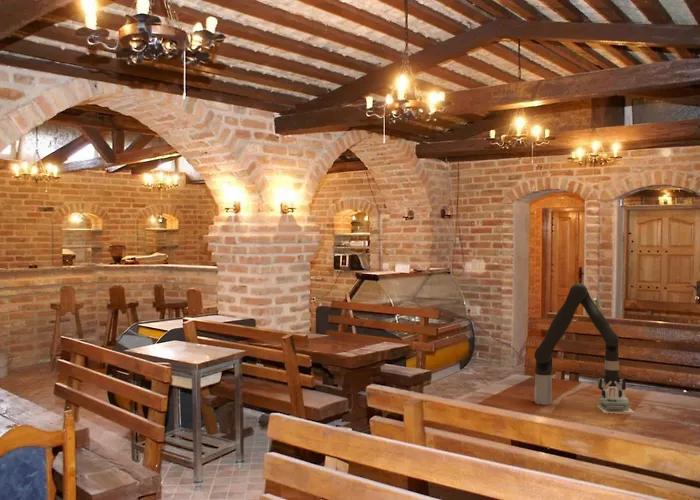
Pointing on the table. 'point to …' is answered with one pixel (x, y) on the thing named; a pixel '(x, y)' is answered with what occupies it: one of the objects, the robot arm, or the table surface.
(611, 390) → the pin
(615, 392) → the white black beveled block
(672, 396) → the table surface
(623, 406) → the square frame block
